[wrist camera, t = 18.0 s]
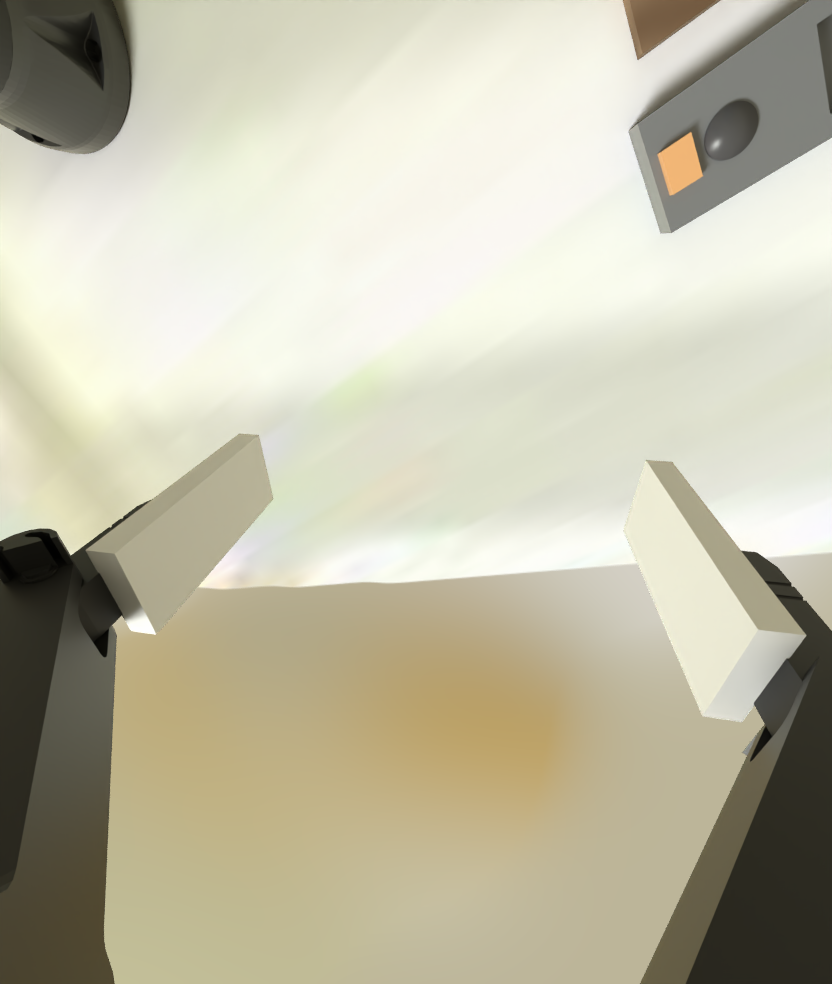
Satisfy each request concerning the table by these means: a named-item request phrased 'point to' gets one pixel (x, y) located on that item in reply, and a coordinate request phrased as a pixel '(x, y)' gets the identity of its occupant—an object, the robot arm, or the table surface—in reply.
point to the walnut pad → (660, 20)
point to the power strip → (740, 119)
